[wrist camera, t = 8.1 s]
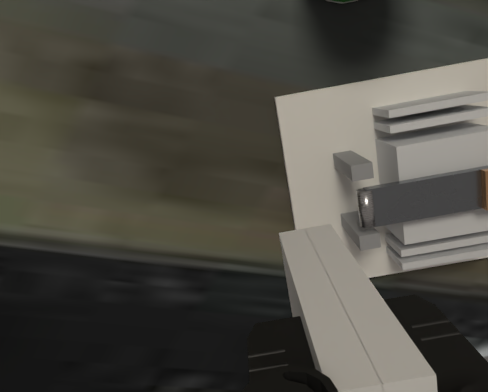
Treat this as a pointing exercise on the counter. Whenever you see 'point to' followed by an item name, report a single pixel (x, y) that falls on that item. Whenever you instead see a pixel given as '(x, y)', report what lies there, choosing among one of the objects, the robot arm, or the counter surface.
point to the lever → (423, 197)
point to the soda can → (341, 1)
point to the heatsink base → (354, 131)
